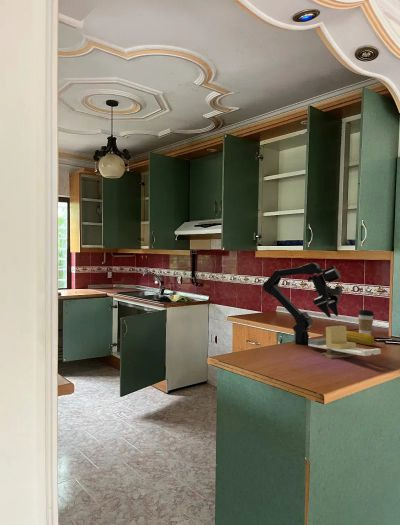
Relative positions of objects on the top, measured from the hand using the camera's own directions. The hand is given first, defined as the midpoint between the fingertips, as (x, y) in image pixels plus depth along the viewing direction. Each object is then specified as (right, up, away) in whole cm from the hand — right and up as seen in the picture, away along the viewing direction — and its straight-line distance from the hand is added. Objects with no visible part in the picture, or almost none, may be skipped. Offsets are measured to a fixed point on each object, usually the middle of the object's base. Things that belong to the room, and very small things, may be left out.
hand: (333, 316), depth 185 cm
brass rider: (-1, -12, -12) cm, 17 cm away
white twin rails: (0, -13, -12) cm, 18 cm away
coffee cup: (+30, -16, +34) cm, 48 cm away
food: (+17, -16, +18) cm, 30 cm away
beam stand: (-2, -16, -11) cm, 19 cm away
